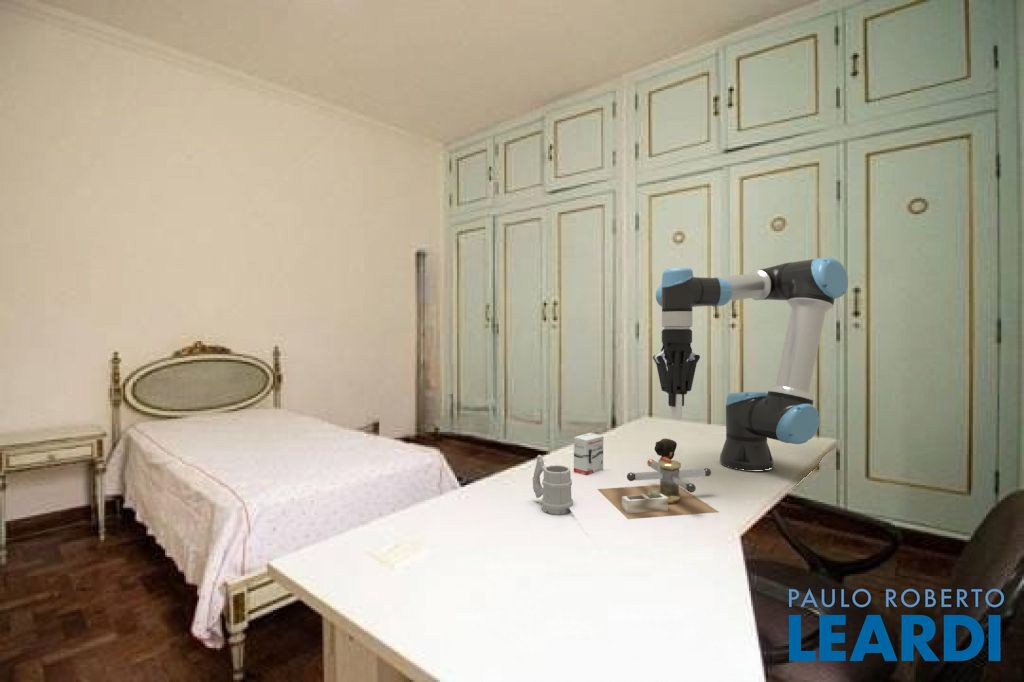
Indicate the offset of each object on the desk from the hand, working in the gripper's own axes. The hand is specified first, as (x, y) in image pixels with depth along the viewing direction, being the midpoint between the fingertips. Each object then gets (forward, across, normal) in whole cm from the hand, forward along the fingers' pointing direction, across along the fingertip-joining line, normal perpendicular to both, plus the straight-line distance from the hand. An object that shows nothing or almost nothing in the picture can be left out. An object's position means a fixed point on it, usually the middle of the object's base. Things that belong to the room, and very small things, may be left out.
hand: (676, 418), depth 126 cm
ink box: (+20, +14, -22) cm, 33 cm away
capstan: (+18, +6, +6) cm, 20 cm away
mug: (+20, +34, -2) cm, 40 cm away
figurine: (+20, -4, -10) cm, 23 cm away
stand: (+20, +10, +5) cm, 23 cm away
